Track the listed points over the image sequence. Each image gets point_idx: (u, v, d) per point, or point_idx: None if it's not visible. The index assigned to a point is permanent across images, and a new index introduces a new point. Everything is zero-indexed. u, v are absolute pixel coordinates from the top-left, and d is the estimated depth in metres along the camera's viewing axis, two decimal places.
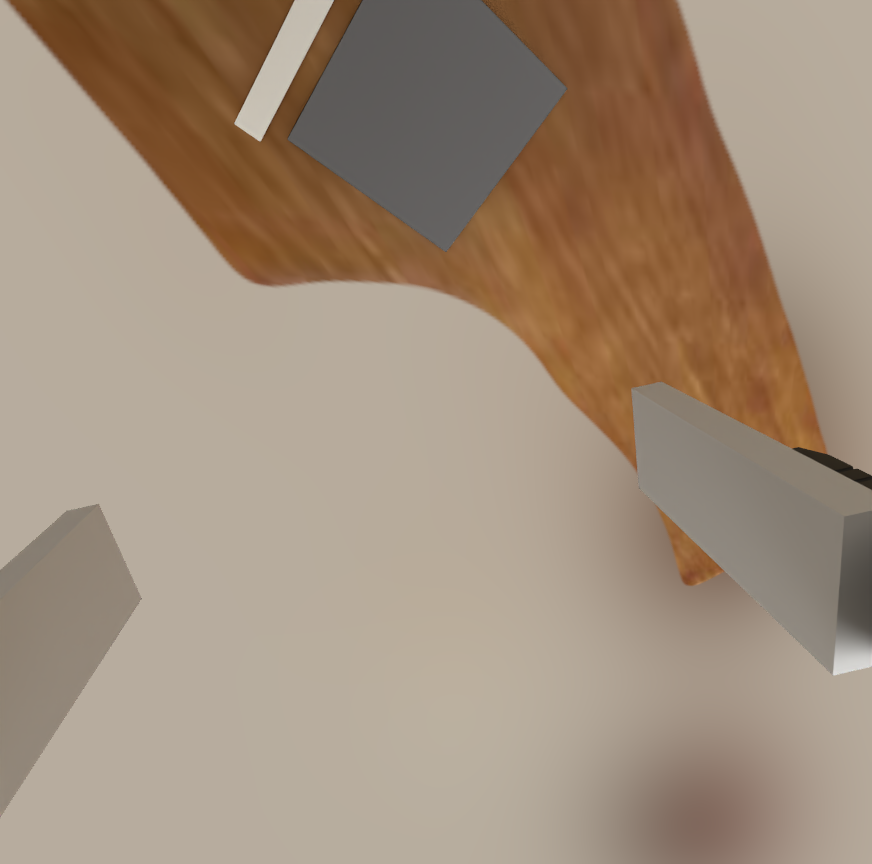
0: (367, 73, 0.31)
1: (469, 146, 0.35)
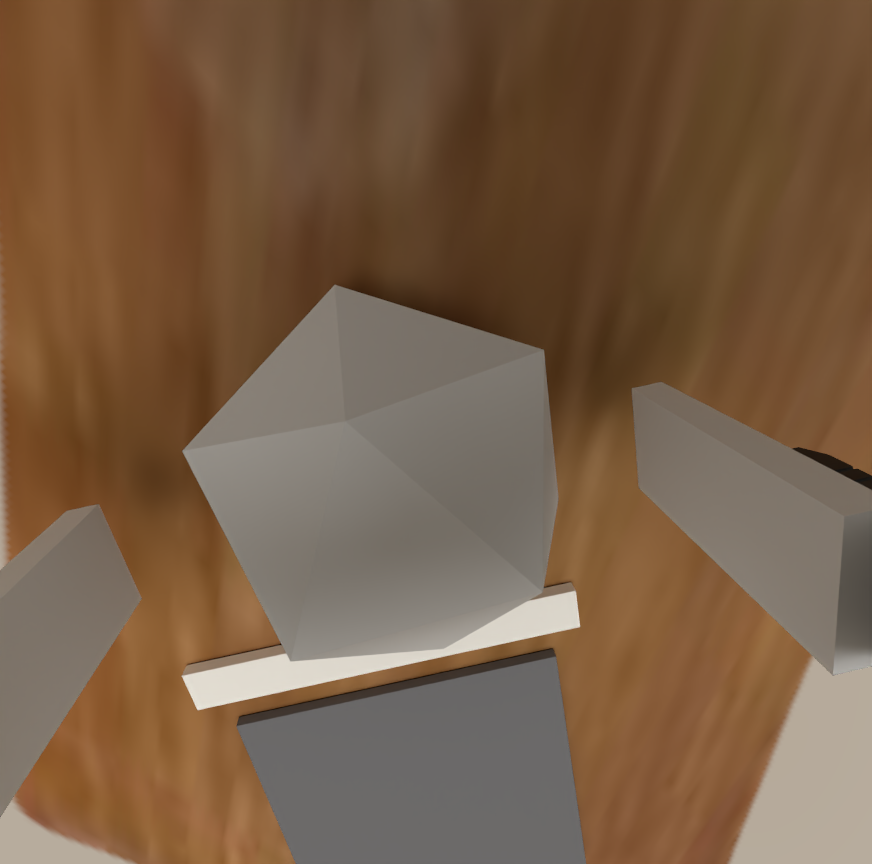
0: (396, 732, 0.21)
1: (444, 852, 0.24)
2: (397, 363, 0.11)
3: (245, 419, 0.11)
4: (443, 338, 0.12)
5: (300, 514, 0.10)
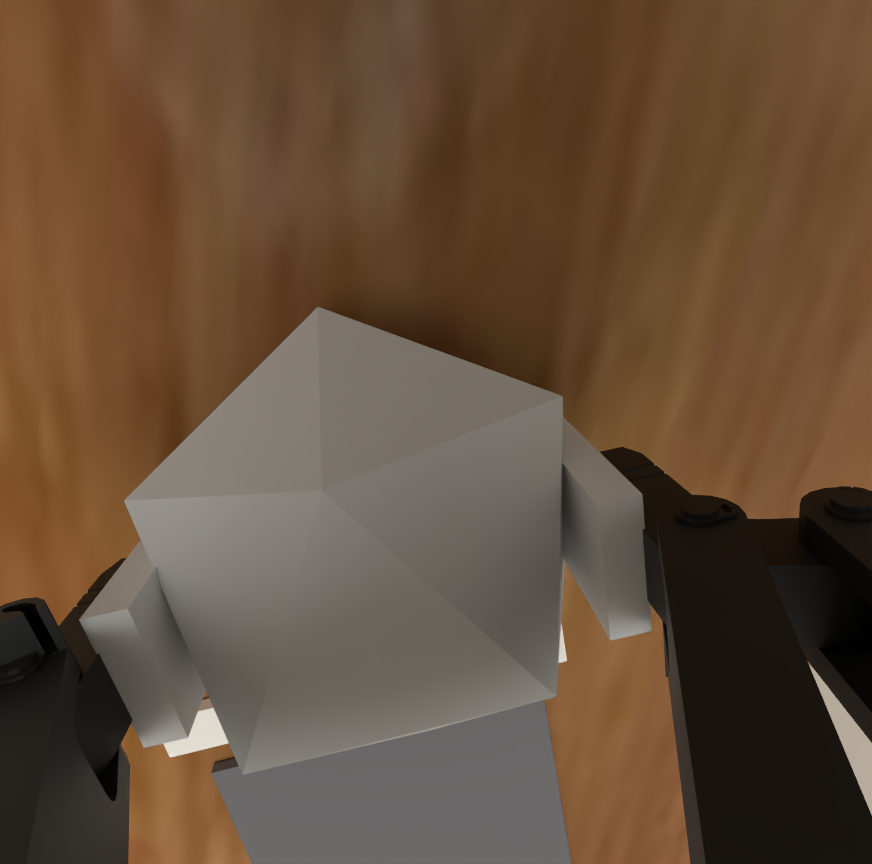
0: (379, 775, 0.20)
1: None
2: (390, 409, 0.09)
3: (200, 468, 0.09)
4: (445, 378, 0.10)
5: (261, 598, 0.08)
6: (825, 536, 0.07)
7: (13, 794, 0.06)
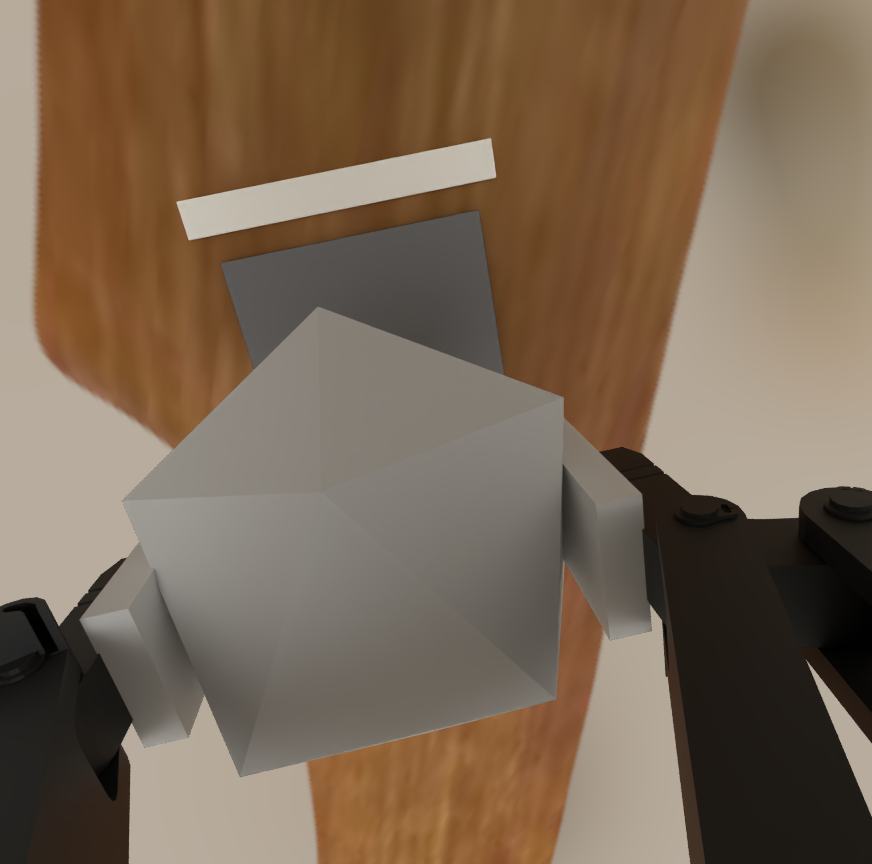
0: (351, 282, 0.26)
1: None
2: (389, 410, 0.09)
3: (199, 468, 0.09)
4: (445, 378, 0.10)
5: (259, 600, 0.08)
6: (824, 536, 0.07)
7: (14, 792, 0.06)
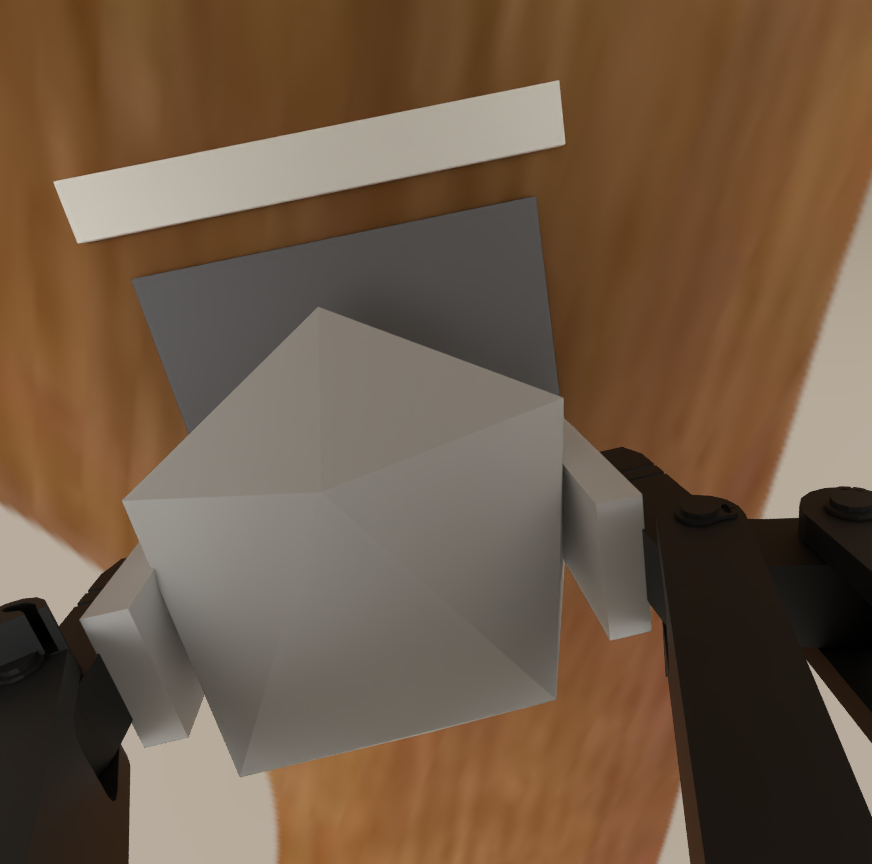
0: (336, 308, 0.17)
1: None
2: (389, 410, 0.09)
3: (199, 469, 0.09)
4: (445, 379, 0.10)
5: (260, 600, 0.08)
6: (825, 536, 0.07)
7: (14, 792, 0.06)
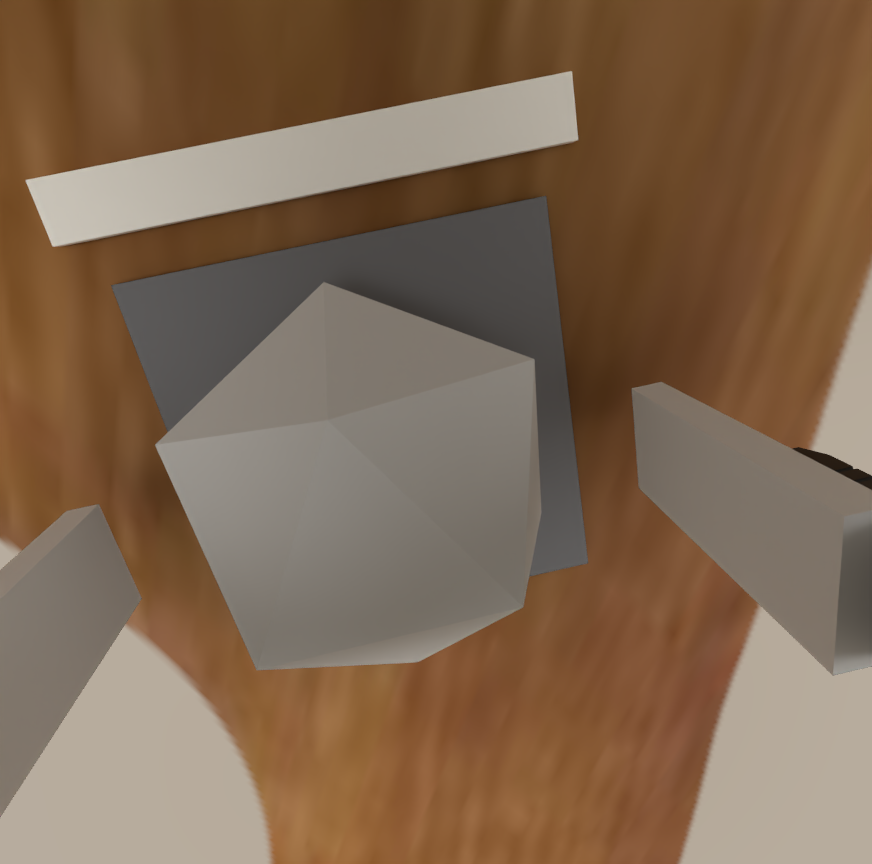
0: None
1: None
2: (385, 363, 0.11)
3: (223, 414, 0.11)
4: (433, 341, 0.12)
5: (275, 516, 0.10)
6: None
7: None
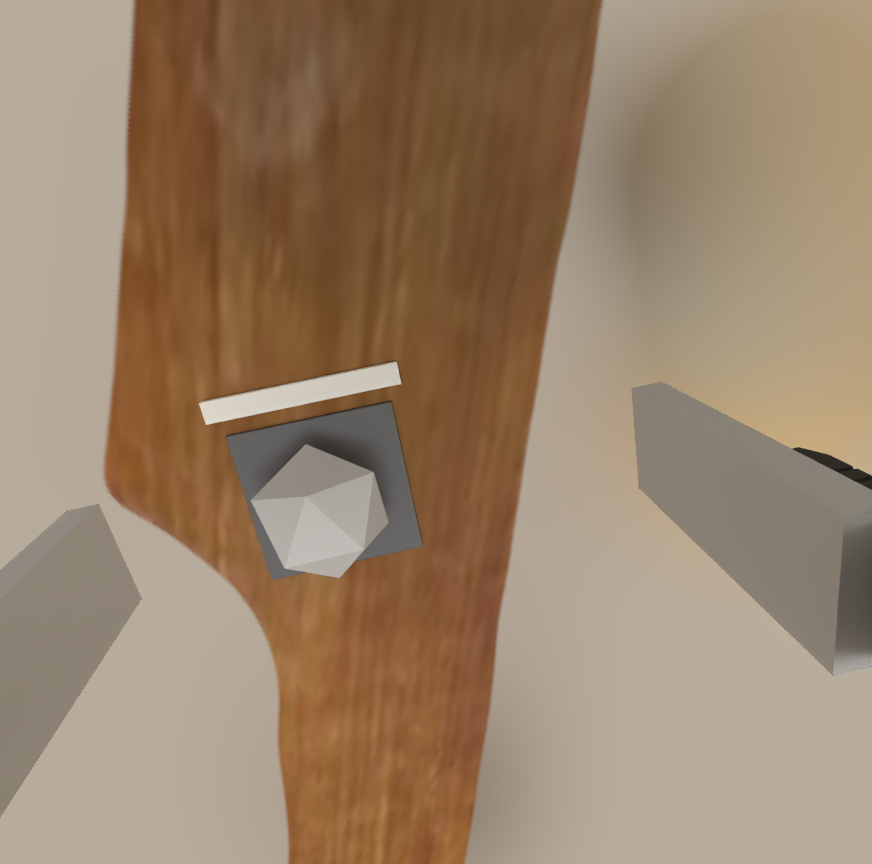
0: None
1: None
2: (323, 477, 0.35)
3: (274, 491, 0.36)
4: (340, 467, 0.36)
5: (290, 522, 0.34)
6: None
7: None
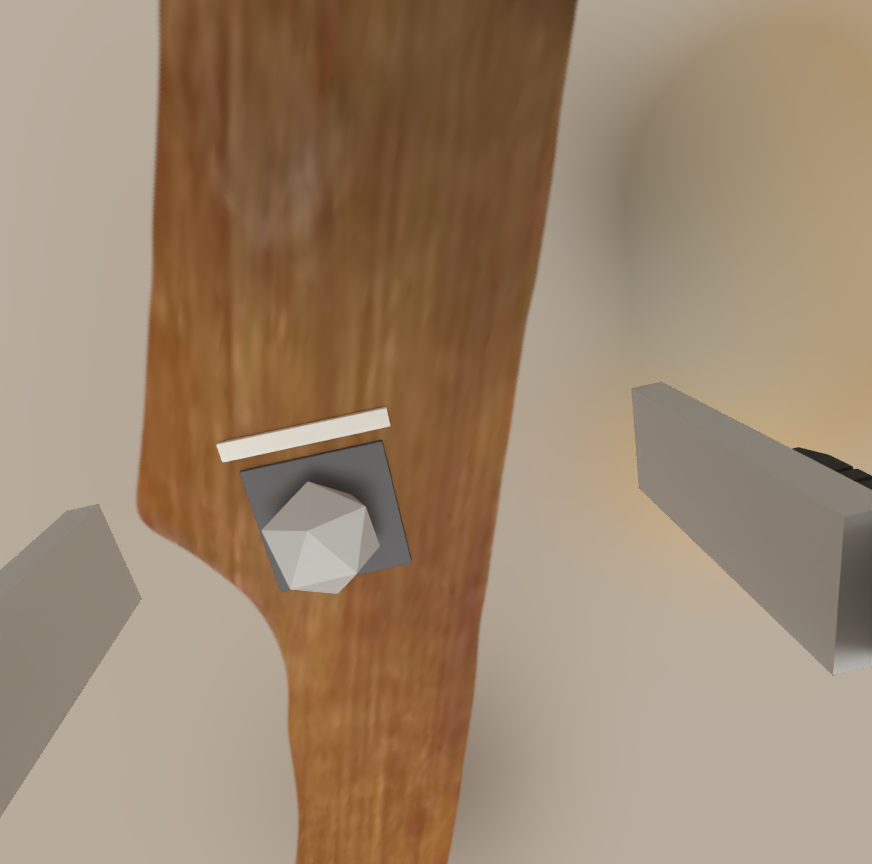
0: (311, 479, 0.47)
1: None
2: (322, 512, 0.42)
3: (280, 524, 0.42)
4: (336, 502, 0.43)
5: (295, 551, 0.41)
6: None
7: None
